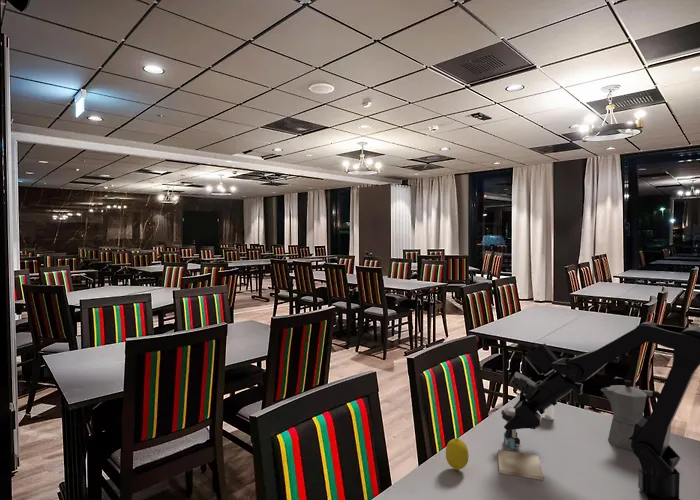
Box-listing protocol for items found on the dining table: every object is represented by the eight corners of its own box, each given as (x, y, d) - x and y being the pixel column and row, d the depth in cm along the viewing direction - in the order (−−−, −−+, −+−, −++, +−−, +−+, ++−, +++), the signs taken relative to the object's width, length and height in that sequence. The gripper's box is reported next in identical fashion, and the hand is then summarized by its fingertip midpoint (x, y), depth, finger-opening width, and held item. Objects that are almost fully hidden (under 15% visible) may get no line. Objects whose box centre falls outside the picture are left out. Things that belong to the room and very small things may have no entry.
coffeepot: (605, 447, 113) (606, 383, 112) (595, 432, 122) (596, 372, 121) (671, 456, 108) (672, 389, 108) (656, 440, 117) (657, 378, 117)
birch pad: (538, 458, 107) (538, 455, 107) (543, 480, 97) (543, 476, 97) (497, 452, 110) (497, 449, 110) (499, 472, 100) (499, 469, 100)
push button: (528, 451, 110) (528, 415, 110) (510, 453, 110) (510, 416, 109) (514, 439, 117) (515, 405, 117) (497, 441, 116) (497, 406, 116)
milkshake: (535, 416, 132) (535, 386, 132) (547, 413, 135) (547, 383, 134) (547, 422, 128) (548, 391, 128) (559, 419, 131) (559, 388, 130)
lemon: (452, 477, 98) (452, 445, 98) (441, 465, 103) (441, 434, 103) (472, 474, 100) (473, 442, 99) (460, 462, 105) (461, 431, 105)
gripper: (531, 356, 119) (491, 387, 125) (525, 375, 103) (480, 409, 108) (561, 387, 116) (519, 418, 121) (560, 412, 99) (511, 446, 105)
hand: (507, 421), depth 114 cm, fingers open, 9 cm apart
